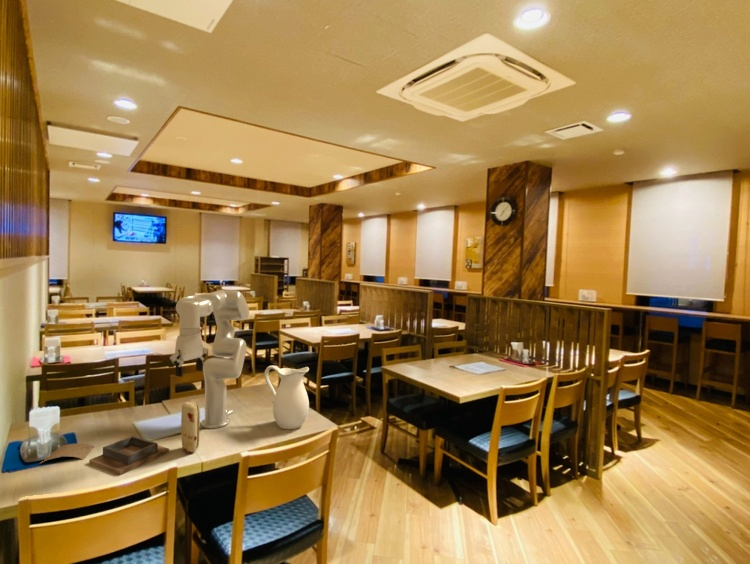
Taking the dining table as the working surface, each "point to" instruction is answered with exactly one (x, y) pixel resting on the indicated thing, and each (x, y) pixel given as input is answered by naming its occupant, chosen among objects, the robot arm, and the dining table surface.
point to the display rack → (128, 454)
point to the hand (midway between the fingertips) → (189, 373)
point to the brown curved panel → (72, 451)
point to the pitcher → (289, 397)
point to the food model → (190, 426)
